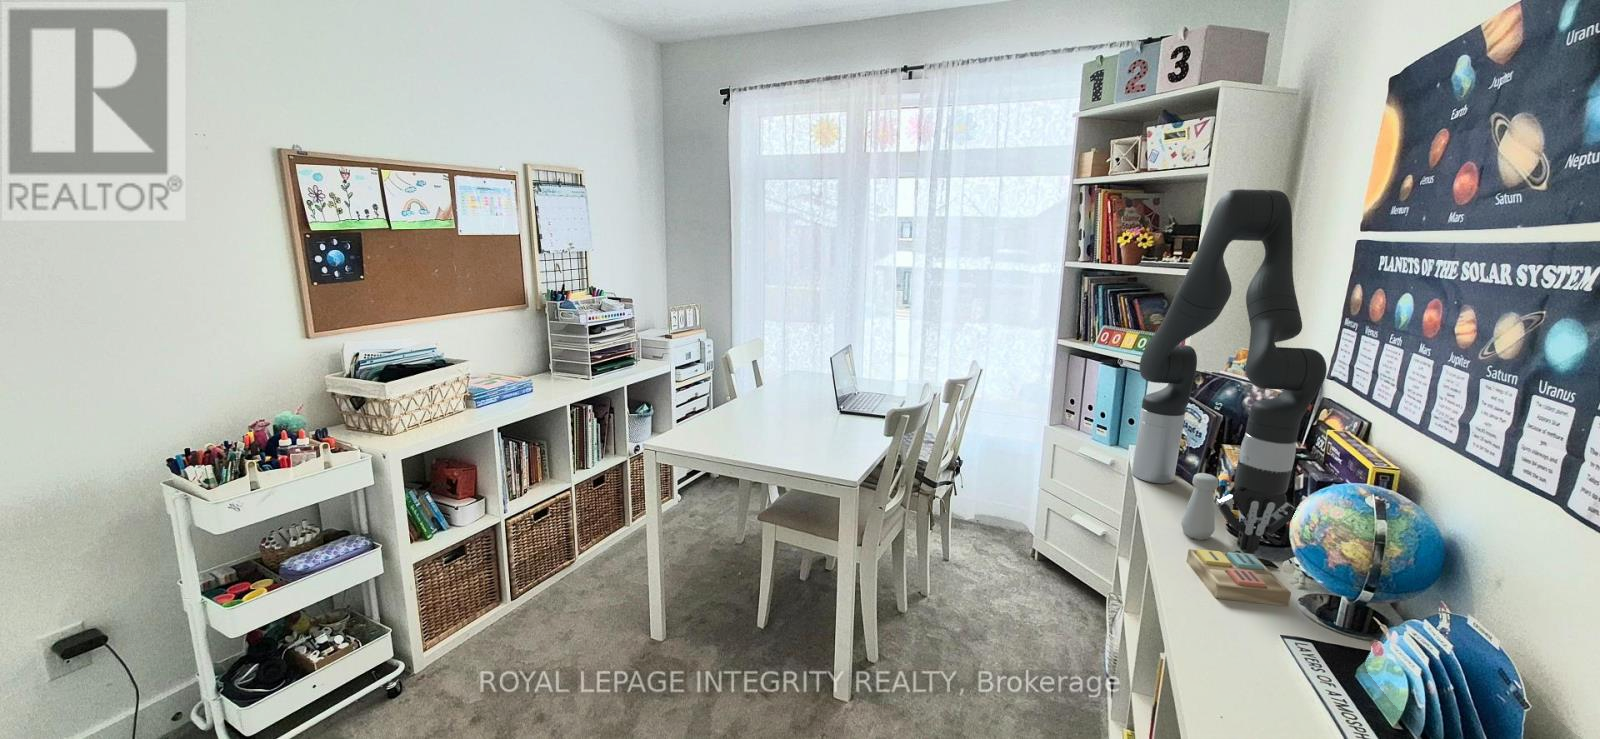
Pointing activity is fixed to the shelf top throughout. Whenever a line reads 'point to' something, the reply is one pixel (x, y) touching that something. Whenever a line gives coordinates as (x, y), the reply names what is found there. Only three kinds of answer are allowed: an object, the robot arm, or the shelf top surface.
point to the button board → (1229, 590)
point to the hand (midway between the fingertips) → (1246, 551)
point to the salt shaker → (1200, 508)
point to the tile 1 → (1213, 558)
